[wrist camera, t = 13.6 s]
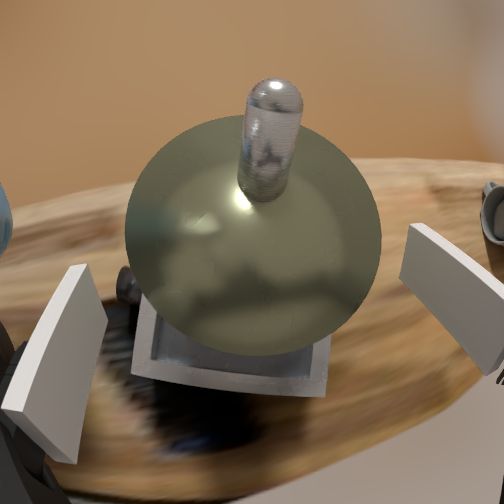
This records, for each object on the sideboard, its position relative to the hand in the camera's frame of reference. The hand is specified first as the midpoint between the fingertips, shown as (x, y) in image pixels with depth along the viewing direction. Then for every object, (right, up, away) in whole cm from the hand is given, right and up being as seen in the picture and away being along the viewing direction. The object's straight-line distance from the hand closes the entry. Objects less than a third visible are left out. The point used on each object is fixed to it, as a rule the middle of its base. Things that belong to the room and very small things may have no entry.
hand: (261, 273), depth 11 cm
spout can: (-1, -2, +10) cm, 10 cm away
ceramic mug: (+33, +5, +21) cm, 40 cm away
